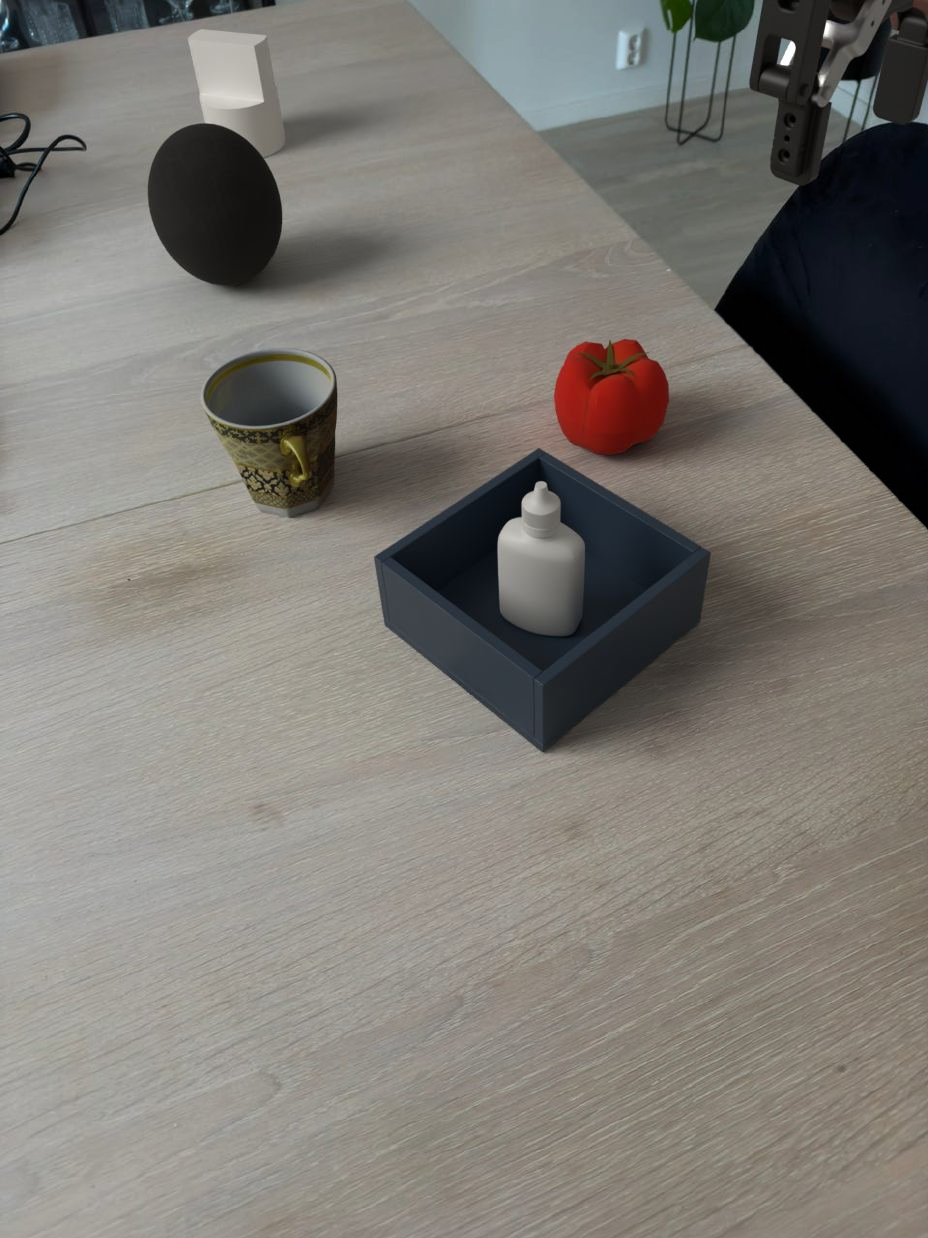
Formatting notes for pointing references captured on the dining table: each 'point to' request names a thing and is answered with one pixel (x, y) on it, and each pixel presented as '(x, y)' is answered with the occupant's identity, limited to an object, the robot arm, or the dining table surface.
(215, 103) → the base with upright slab
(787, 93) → the robot arm
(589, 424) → the tomato
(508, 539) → the eye dropper bottle
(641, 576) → the bin
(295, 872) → the dining table surface
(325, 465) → the ceramic cup
